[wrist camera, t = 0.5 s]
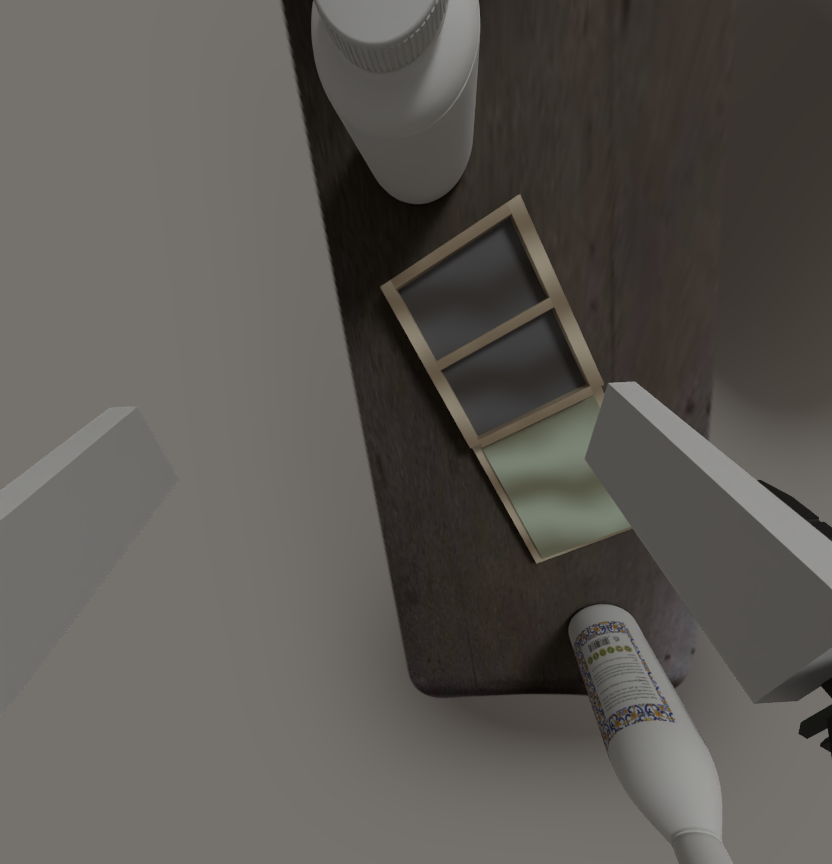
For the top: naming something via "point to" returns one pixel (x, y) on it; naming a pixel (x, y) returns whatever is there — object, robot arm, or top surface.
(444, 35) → the pill bottle
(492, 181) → the top surface
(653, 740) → the bath foam
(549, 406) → the tray
